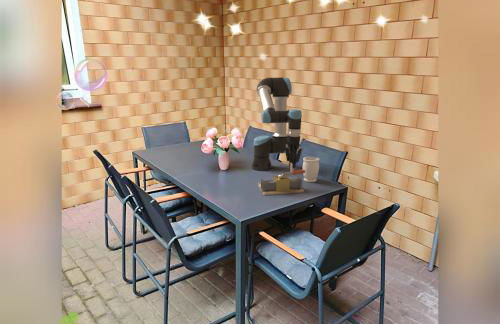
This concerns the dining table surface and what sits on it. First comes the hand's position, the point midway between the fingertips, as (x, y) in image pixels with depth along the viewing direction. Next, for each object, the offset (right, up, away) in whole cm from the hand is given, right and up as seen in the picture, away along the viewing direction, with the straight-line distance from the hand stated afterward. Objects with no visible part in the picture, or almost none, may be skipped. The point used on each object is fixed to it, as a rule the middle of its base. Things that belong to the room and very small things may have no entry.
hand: (292, 172), depth 218 cm
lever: (-1, -2, -3) cm, 3 cm away
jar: (+14, -6, +15) cm, 21 cm away
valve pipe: (-7, -11, -3) cm, 13 cm away
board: (-7, -10, +1) cm, 12 cm away
